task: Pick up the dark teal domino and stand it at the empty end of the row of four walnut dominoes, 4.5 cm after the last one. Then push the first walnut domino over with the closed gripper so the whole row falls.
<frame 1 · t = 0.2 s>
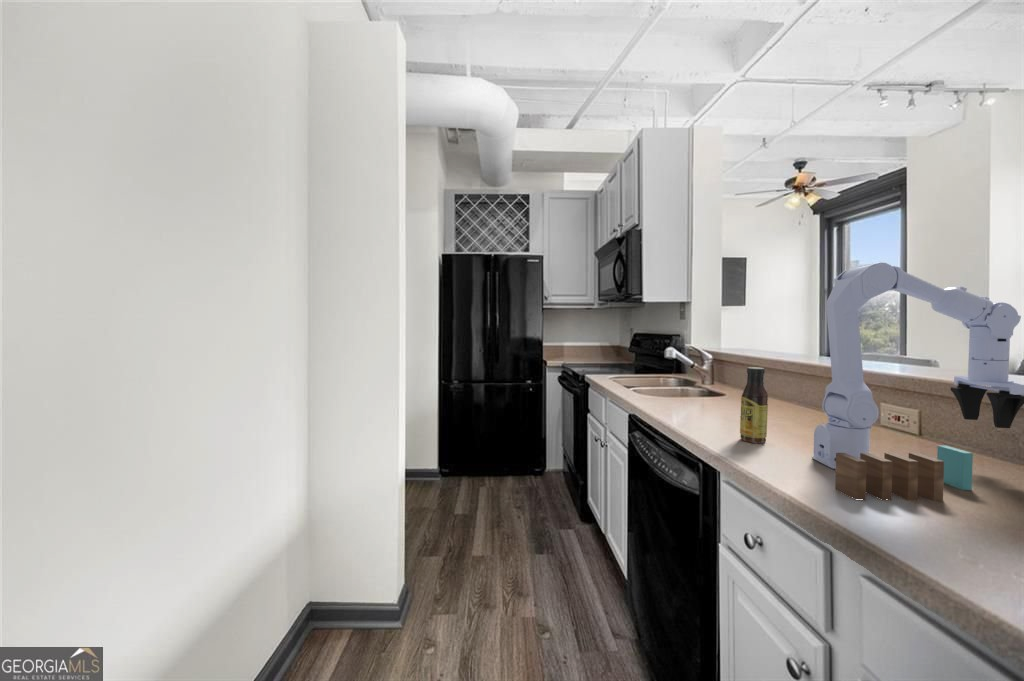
hand: (985, 423, 90), 10 cm above the worktop, tool pointing down, fingers open, 7 cm apart
domino 3: (899, 494, 77), on the worktop
domino 1: (849, 494, 77), on the worktop
domino 2: (874, 494, 77), on the worktop
domino 5: (953, 485, 82), on the worktop
sauce bottle: (753, 442, 113), on the worktop
domino 4: (924, 494, 77), on the worktop
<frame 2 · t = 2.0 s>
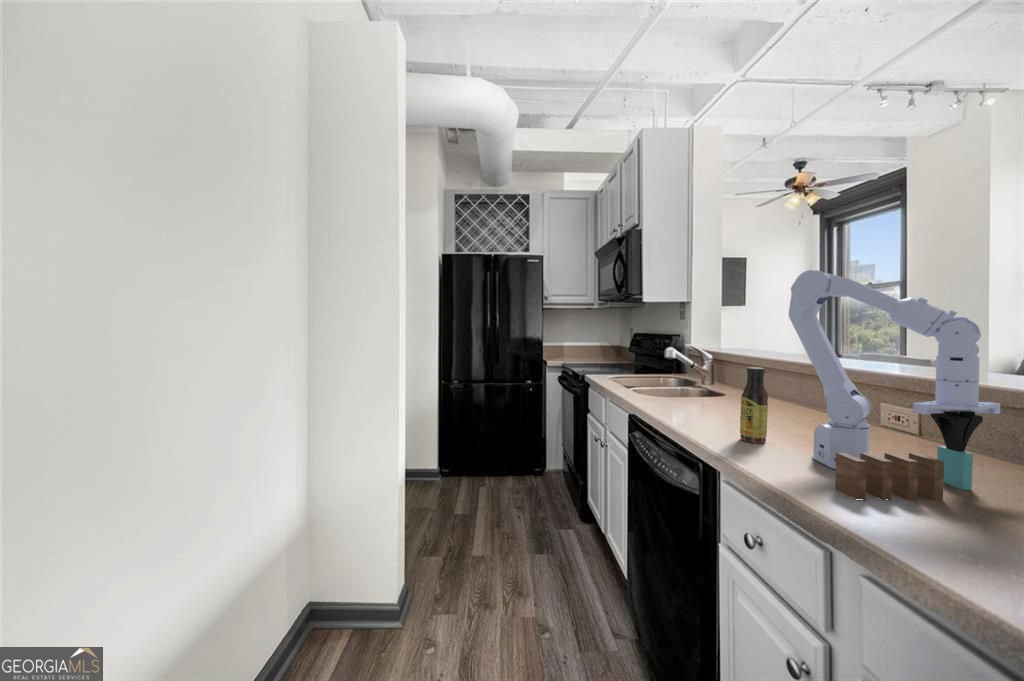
hand: (955, 450, 81), 7 cm above the worktop, tool pointing down, fingers closed, pressing on domino 5
domino 5: (953, 485, 82), on the worktop, touching gripper
everything else where it was.
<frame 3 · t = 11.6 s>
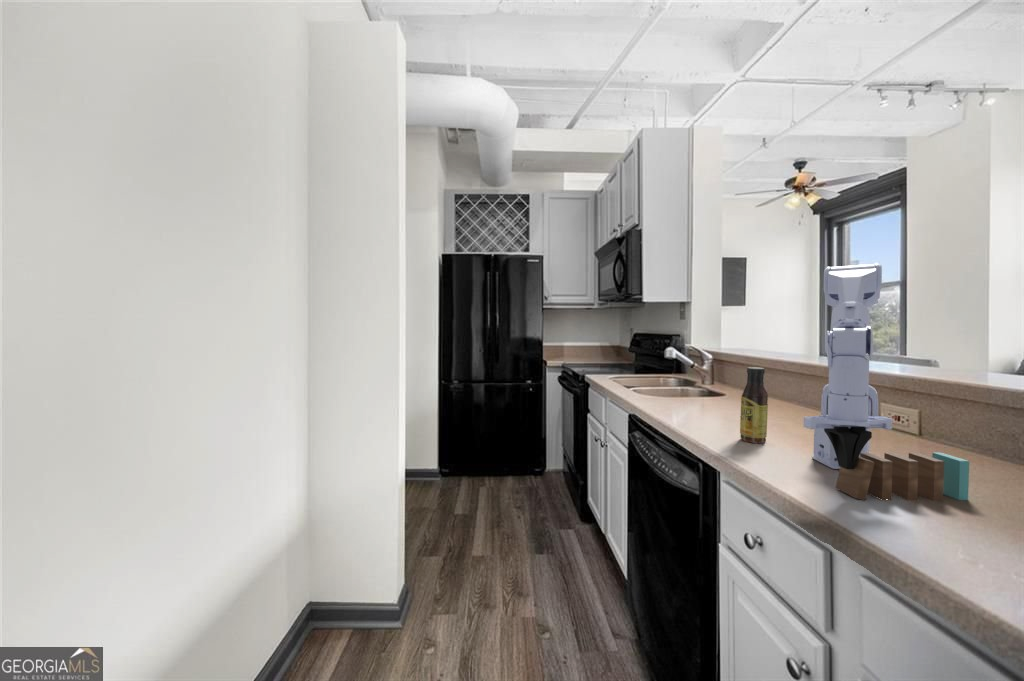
hand: (846, 467, 77), 5 cm above the worktop, tool pointing down, fingers closed
domino 1: (849, 493, 77), on the worktop, tilted 12°
domino 5: (949, 494, 77), on the worktop
everything else where it was.
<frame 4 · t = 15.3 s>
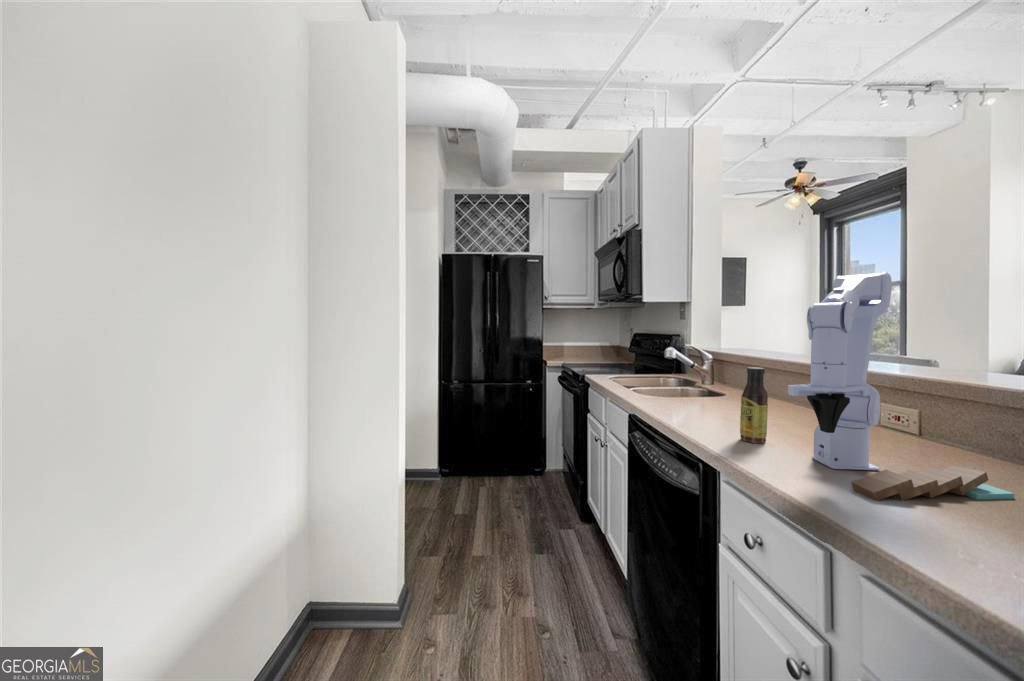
hand: (827, 431, 84), 10 cm above the worktop, tool pointing down, fingers closed
domino 3: (914, 489, 78), point 1 cm above the worktop, tilted 72°, touching domino 2, domino 4
domino 1: (863, 491, 77), point 1 cm above the worktop, tilted 71°, touching domino 2
domino 2: (887, 491, 77), point 1 cm above the worktop, tilted 72°, touching domino 1, domino 3
domino 5: (961, 493, 77), on the worktop, tilted 90°
domino 4: (944, 487, 78), point 1 cm above the worktop, tilted 72°, touching domino 3
everything else where it was.
at the end: domino 5 tilted 90°; domino 5 inside the target area (2.6 cm from its centre), on the worktop; domino 3 tilted 71° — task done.
